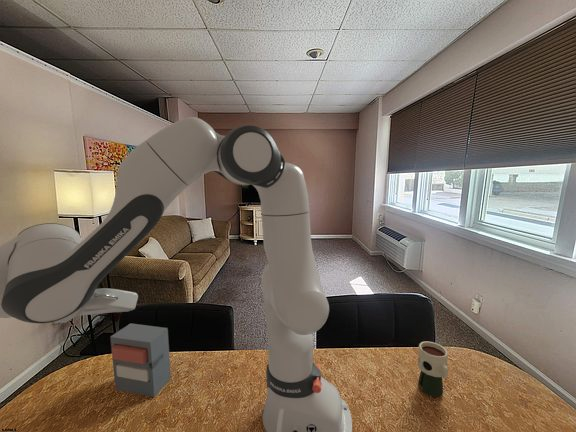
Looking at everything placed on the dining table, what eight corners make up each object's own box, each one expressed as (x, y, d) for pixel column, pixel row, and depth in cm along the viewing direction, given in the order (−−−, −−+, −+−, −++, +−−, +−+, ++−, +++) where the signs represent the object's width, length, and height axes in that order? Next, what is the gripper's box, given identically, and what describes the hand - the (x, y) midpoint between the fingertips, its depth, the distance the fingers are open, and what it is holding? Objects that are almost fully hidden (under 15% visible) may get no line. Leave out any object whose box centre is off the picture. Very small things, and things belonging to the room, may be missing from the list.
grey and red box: (154, 397, 70) (150, 342, 68) (115, 389, 72) (110, 336, 70) (170, 378, 77) (167, 328, 75) (134, 371, 79) (130, 323, 77)
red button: (143, 364, 68) (142, 352, 67) (112, 359, 70) (111, 347, 69) (154, 354, 71) (153, 343, 71) (124, 349, 73) (123, 339, 73)
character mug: (407, 377, 77) (409, 338, 75) (428, 374, 78) (430, 336, 76) (432, 408, 66) (435, 363, 65) (456, 405, 67) (460, 360, 66)
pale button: (147, 381, 69) (146, 370, 69) (117, 376, 71) (116, 365, 71) (157, 371, 73) (156, 360, 73) (128, 366, 75) (127, 356, 75)
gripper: (103, 277, 49) (160, 291, 60) (42, 287, 55) (103, 298, 67) (91, 311, 46) (154, 319, 57) (28, 318, 52) (95, 324, 64)
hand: (126, 308), depth 62 cm, fingers closed
